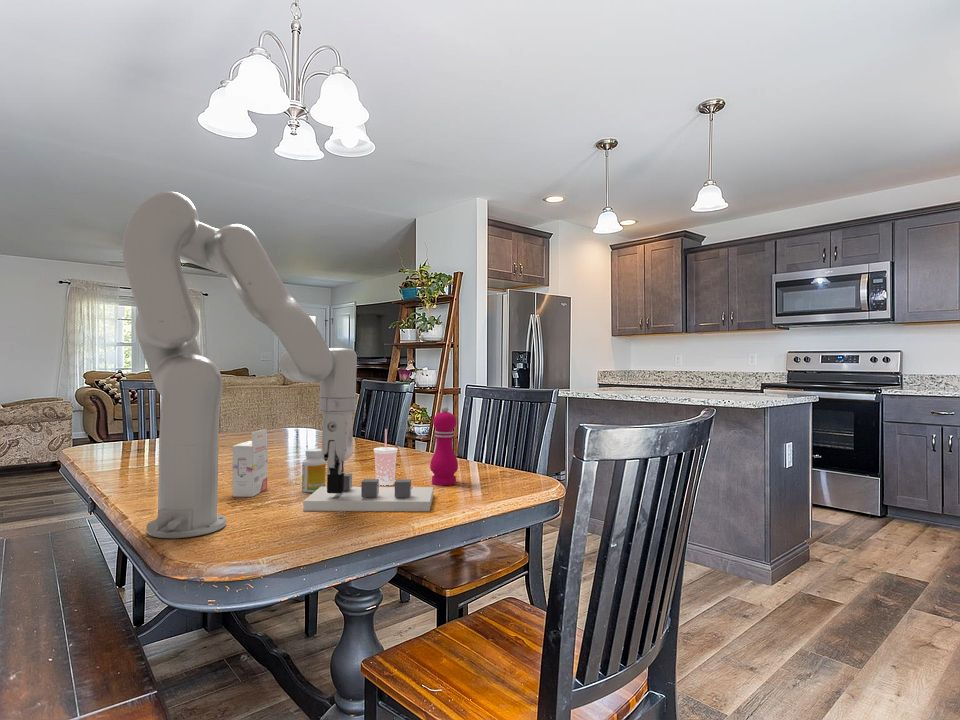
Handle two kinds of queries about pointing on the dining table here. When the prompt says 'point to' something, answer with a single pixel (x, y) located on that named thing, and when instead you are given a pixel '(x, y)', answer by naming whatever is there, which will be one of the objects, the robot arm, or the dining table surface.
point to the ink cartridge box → (250, 466)
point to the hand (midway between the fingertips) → (335, 492)
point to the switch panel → (369, 500)
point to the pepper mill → (444, 449)
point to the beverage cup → (385, 463)
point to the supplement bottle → (313, 470)
